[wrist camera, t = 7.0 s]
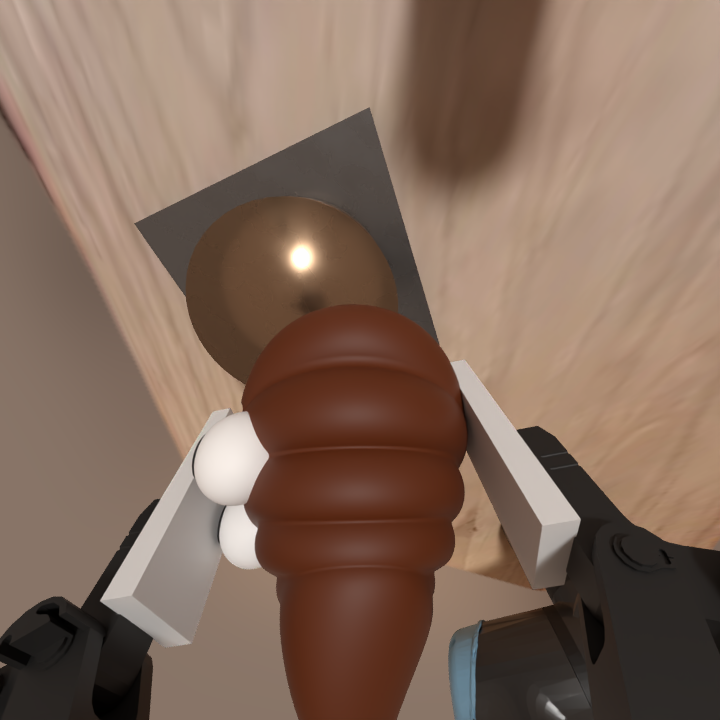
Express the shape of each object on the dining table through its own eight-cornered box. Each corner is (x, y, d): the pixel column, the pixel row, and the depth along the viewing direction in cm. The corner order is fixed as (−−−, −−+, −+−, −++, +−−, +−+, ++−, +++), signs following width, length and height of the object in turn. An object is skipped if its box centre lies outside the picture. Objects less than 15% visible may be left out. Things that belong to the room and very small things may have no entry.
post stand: (436, 340, 31) (459, 376, 25) (266, 402, 34) (248, 448, 28) (368, 110, 22) (377, 76, 16) (141, 222, 25) (74, 231, 18)
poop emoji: (431, 483, 16) (523, 804, 7) (265, 486, 15) (170, 826, 7) (468, 295, 11) (863, 632, 2) (225, 294, 10) (-240, 677, 2)
